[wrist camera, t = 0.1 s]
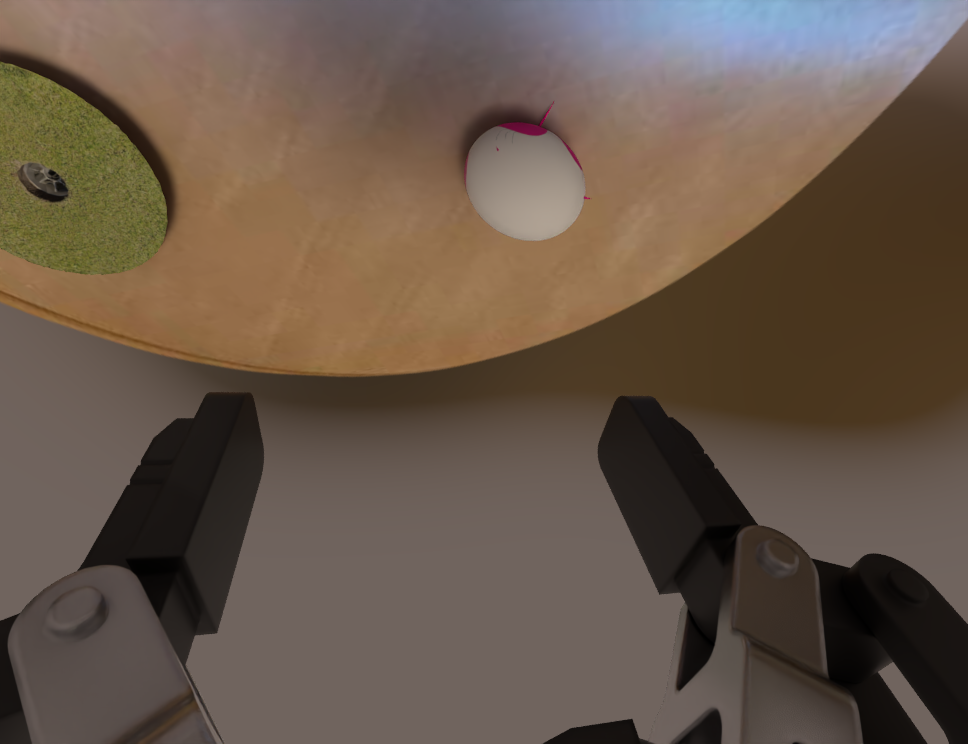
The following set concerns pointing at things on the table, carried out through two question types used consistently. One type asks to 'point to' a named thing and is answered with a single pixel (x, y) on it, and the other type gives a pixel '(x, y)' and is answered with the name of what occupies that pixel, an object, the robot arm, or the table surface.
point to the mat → (72, 182)
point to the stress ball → (524, 181)
